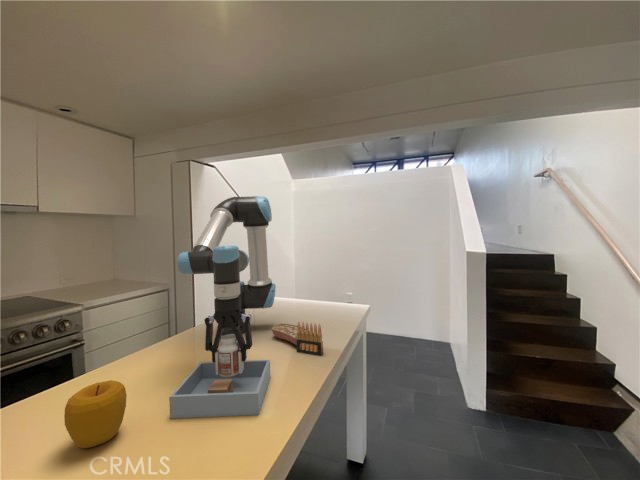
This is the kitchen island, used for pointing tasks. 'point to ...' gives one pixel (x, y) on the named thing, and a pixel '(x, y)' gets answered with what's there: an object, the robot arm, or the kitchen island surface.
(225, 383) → the walnut cube
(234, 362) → the pill bottle
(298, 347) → the ammunition clip
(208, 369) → the tote
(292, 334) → the anatomical model
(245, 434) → the kitchen island surface
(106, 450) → the kitchen island surface
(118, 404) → the apple
